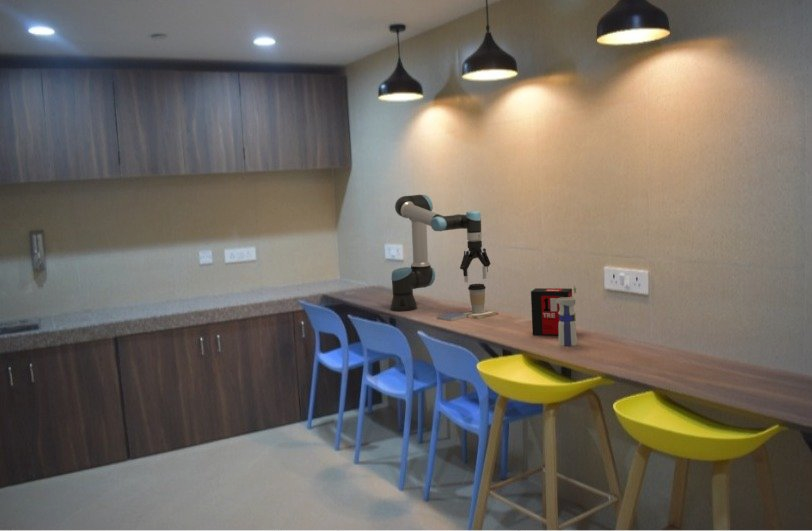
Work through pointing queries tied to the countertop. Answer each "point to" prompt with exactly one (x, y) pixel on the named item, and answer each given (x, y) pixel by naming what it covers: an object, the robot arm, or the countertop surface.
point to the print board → (482, 315)
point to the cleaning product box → (546, 310)
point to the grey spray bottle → (567, 321)
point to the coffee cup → (477, 297)
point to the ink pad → (451, 316)
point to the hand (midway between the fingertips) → (476, 280)
